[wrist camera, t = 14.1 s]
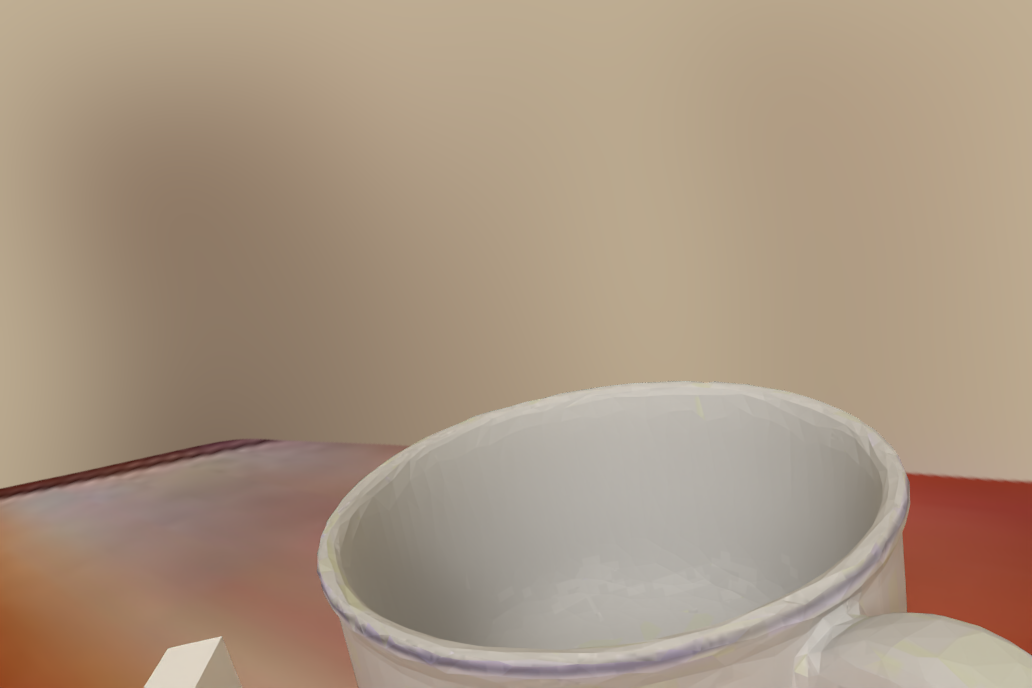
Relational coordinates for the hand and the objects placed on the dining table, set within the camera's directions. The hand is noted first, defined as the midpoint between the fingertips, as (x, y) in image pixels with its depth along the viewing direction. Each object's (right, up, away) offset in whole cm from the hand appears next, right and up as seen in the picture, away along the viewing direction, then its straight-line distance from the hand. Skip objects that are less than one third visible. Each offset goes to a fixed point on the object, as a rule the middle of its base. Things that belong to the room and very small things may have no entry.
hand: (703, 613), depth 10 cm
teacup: (+1, -6, +5) cm, 8 cm away
